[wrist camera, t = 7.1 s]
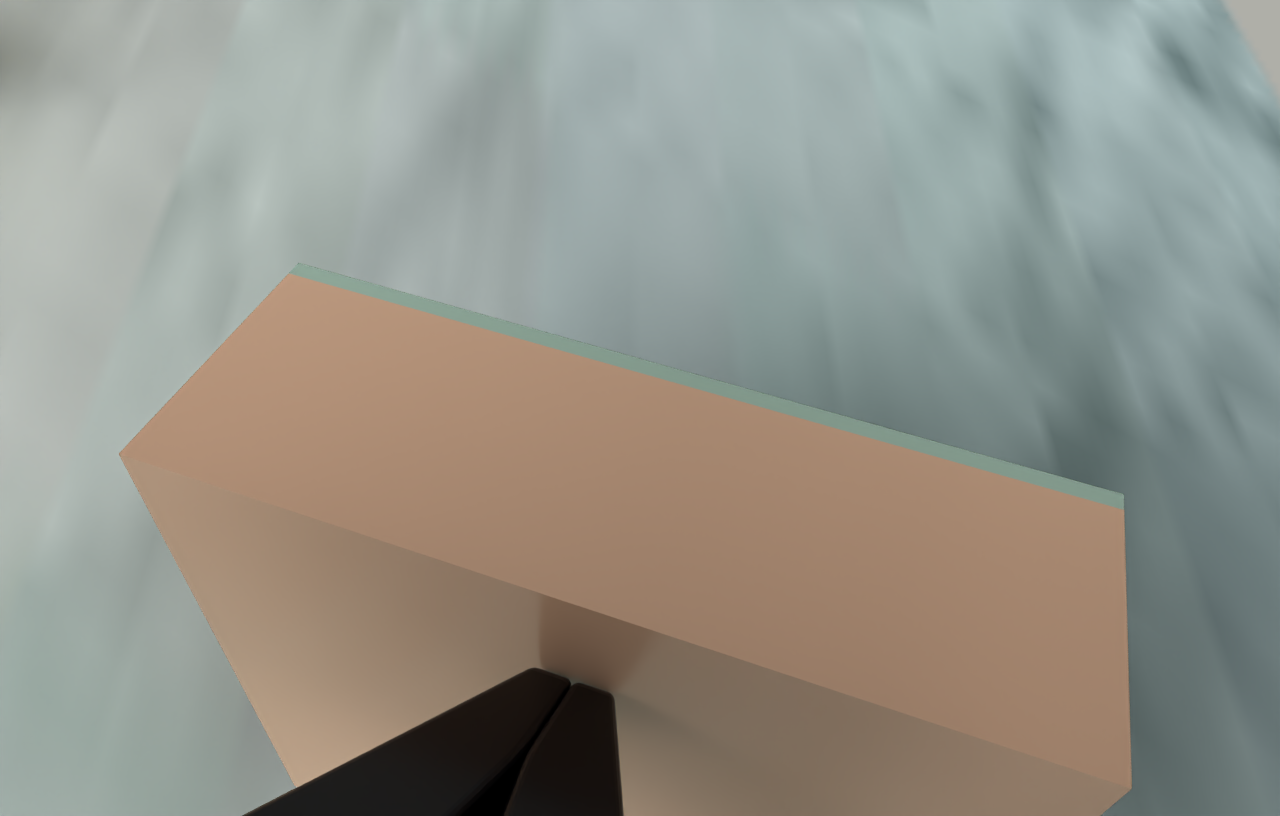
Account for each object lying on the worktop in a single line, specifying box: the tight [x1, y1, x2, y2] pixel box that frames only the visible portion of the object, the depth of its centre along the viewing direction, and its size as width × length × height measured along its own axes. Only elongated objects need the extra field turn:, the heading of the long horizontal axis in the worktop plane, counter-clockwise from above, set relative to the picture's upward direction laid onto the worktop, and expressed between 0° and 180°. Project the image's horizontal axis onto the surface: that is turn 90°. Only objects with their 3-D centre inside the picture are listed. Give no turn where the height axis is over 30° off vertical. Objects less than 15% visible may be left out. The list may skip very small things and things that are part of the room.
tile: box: [119, 263, 1132, 816], centre depth 12 cm, size 3×9×8 cm, turn 71°
